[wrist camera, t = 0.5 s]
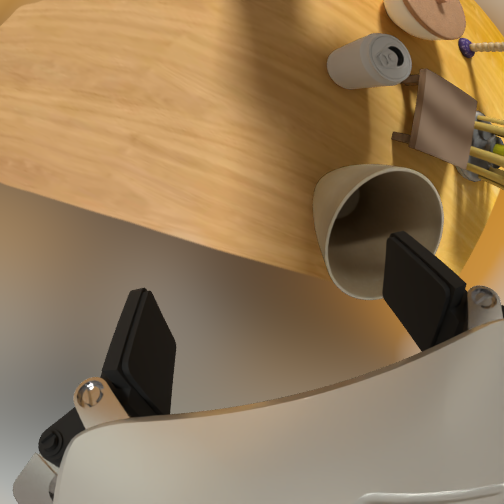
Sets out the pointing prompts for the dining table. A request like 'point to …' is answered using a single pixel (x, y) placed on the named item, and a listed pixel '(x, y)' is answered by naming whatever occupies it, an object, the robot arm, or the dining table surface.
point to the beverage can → (370, 62)
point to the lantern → (486, 152)
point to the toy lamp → (478, 47)
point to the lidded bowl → (428, 18)
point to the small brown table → (441, 119)
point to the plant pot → (372, 221)
